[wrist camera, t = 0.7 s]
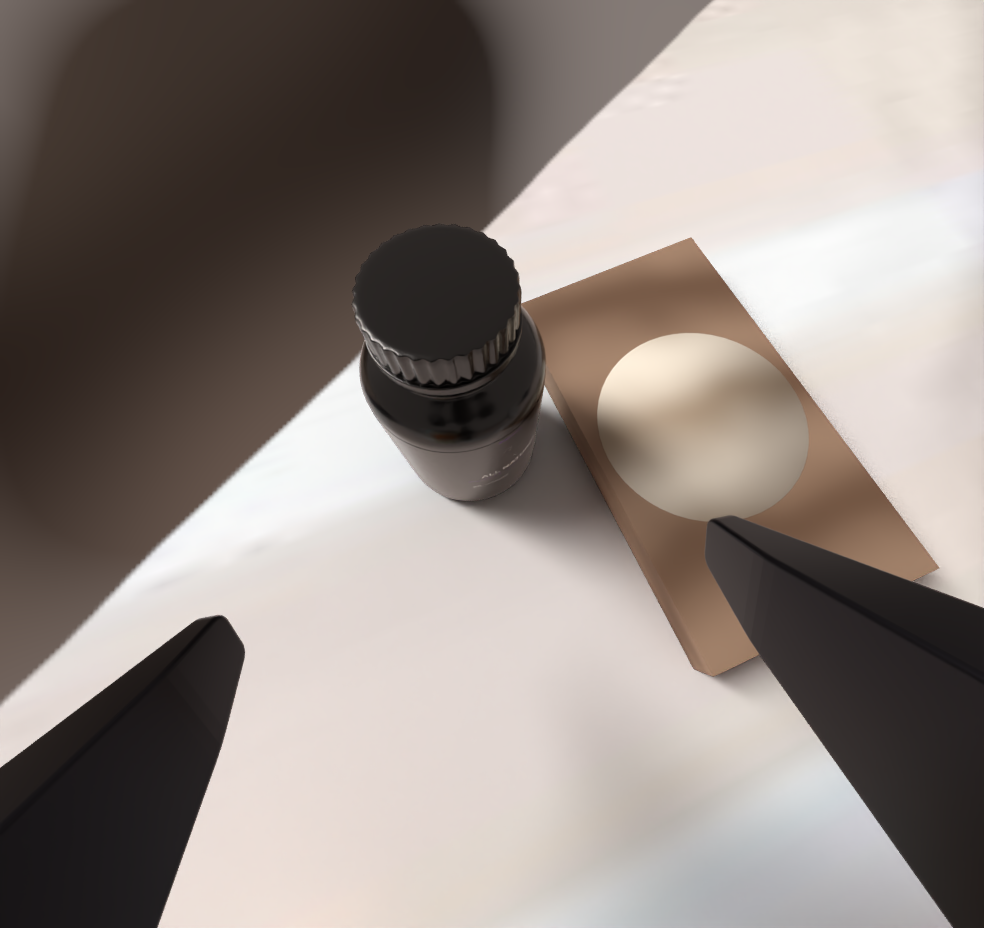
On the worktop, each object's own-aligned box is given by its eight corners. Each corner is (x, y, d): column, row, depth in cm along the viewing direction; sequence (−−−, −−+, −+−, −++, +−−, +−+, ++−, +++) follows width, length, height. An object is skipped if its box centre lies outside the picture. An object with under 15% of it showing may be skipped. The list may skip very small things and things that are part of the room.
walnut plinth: (898, 570, 20) (939, 568, 18) (693, 668, 19) (713, 677, 17) (678, 263, 26) (691, 236, 24) (514, 328, 25) (515, 305, 23)
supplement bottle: (519, 517, 22) (525, 428, 10) (394, 487, 22) (269, 373, 11) (546, 399, 23) (578, 213, 12) (431, 376, 24) (358, 180, 13)
